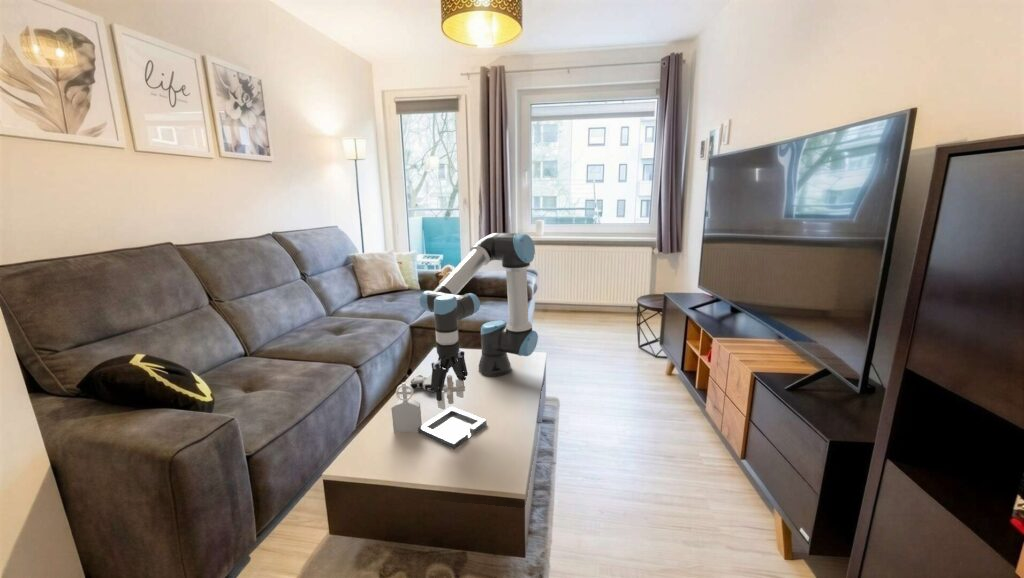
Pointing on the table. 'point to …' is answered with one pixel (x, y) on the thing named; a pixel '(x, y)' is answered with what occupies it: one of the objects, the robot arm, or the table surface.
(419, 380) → the robot toy
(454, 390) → the pipe connector
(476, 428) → the square metal tray
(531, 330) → the robot arm
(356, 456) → the table surface
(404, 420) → the gravestone
